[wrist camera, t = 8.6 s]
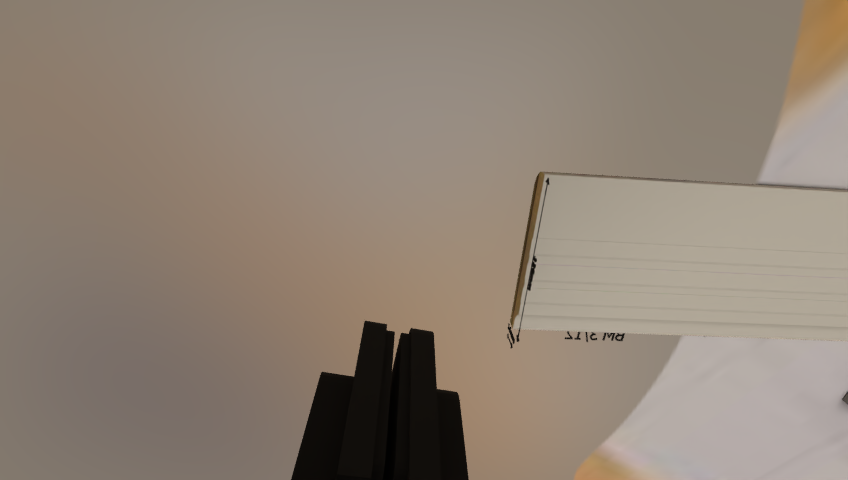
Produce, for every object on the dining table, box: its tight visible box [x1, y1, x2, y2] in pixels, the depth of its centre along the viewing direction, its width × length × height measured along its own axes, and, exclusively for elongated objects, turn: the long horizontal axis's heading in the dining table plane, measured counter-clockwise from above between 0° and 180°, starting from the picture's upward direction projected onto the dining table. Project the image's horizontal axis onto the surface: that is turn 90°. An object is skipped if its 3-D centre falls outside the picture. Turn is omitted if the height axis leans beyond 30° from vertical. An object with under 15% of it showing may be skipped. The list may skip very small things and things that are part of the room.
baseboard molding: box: [507, 172, 848, 348], centre depth 27 cm, size 31×3×12 cm
